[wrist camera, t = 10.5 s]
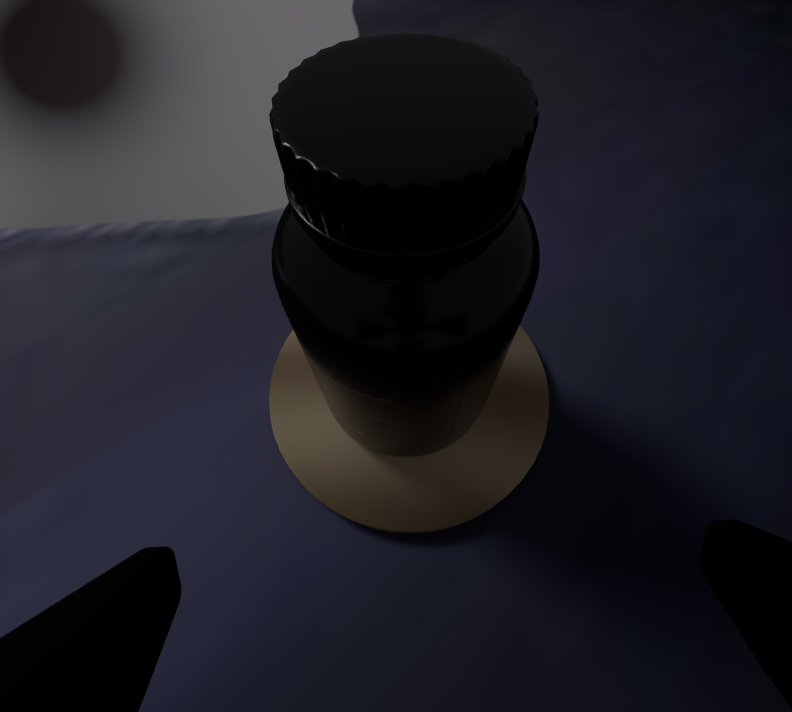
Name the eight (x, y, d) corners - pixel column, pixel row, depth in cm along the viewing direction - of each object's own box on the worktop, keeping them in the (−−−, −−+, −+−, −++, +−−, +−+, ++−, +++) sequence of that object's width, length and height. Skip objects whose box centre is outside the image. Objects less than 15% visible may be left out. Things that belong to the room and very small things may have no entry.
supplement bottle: (392, 294, 20) (383, -25, 10) (514, 371, 18) (674, 72, 7) (290, 395, 17) (127, 112, 7) (419, 500, 15) (460, 318, 5)
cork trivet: (569, 531, 16) (579, 529, 15) (254, 534, 16) (246, 532, 15) (520, 282, 21) (525, 271, 21) (290, 285, 22) (286, 274, 21)
